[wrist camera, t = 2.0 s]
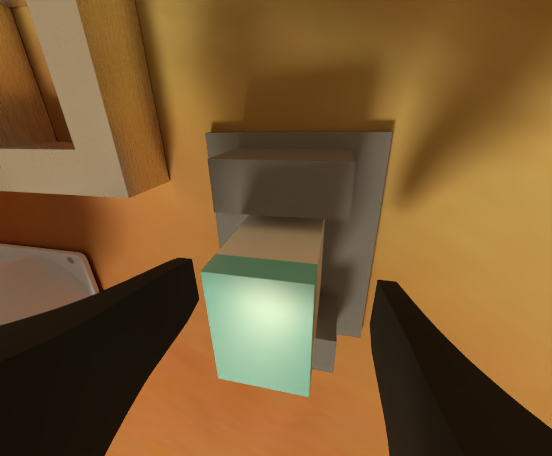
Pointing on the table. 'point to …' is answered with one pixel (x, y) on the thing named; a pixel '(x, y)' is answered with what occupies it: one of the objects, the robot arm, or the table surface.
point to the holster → (310, 207)
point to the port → (79, 102)
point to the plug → (266, 302)
